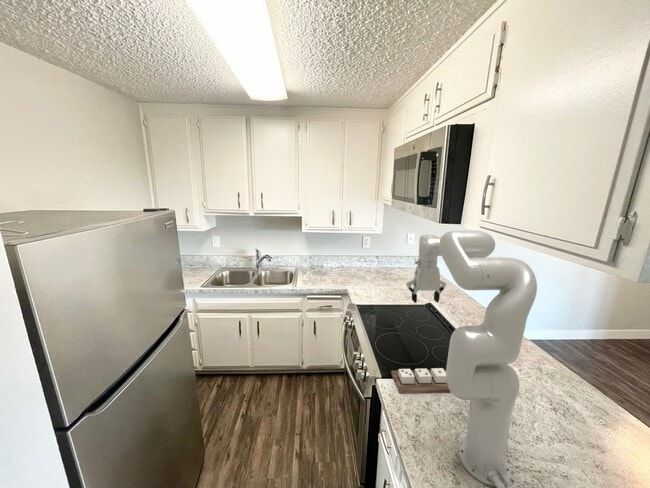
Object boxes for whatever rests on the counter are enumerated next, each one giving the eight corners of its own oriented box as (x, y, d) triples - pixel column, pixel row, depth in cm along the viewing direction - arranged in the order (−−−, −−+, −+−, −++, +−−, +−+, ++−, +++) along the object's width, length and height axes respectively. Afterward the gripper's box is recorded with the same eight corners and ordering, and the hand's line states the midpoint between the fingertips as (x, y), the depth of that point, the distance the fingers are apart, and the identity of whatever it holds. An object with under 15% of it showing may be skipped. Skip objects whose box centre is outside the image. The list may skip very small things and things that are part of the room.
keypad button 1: (448, 382, 105) (448, 375, 104) (436, 382, 105) (436, 375, 104) (442, 374, 110) (442, 367, 109) (430, 374, 110) (431, 367, 109)
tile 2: (431, 382, 105) (431, 375, 104) (419, 383, 105) (419, 376, 104) (426, 374, 110) (426, 368, 109) (414, 375, 109) (414, 368, 109)
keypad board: (457, 392, 102) (457, 389, 101) (399, 393, 101) (399, 390, 101) (442, 372, 114) (443, 369, 113) (391, 373, 113) (391, 370, 113)
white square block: (414, 383, 104) (414, 376, 104) (402, 383, 104) (402, 376, 104) (409, 375, 109) (410, 368, 109) (398, 375, 109) (398, 368, 109)
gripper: (410, 266, 107) (408, 305, 109) (451, 265, 107) (448, 304, 110) (404, 262, 114) (403, 298, 117) (443, 261, 115) (440, 298, 117)
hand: (425, 301), depth 113 cm, fingers open, 9 cm apart
